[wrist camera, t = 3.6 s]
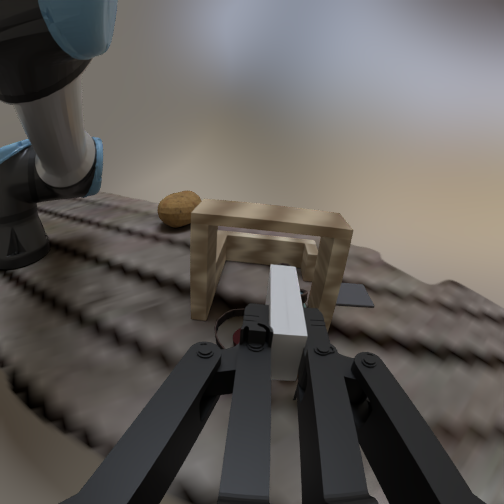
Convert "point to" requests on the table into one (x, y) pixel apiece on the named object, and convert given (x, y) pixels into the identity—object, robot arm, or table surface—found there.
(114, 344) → the table surface
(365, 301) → the mat
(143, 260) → the table surface
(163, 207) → the potato
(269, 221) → the tunnel
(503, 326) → the table surface
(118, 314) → the table surface
